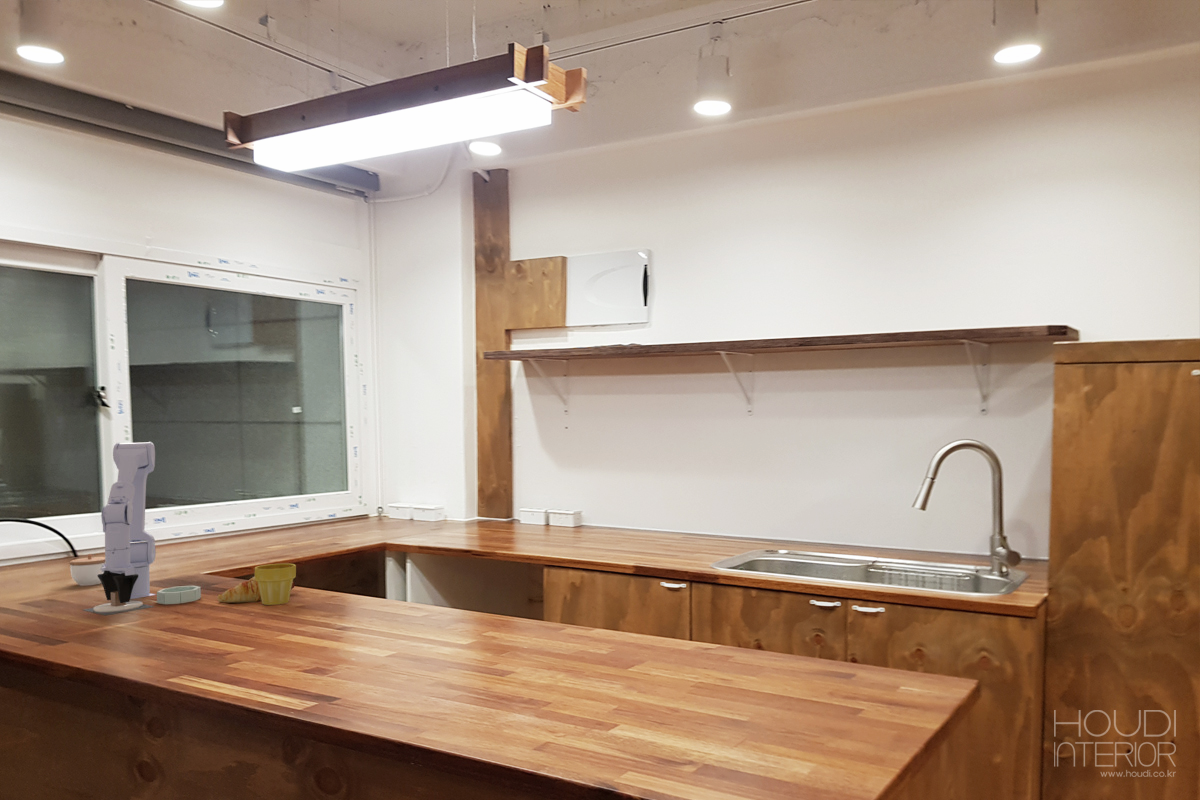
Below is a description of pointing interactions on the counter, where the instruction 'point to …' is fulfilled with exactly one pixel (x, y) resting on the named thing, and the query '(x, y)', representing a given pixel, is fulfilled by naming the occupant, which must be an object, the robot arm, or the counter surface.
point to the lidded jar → (87, 570)
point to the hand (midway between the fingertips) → (118, 601)
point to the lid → (117, 605)
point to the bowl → (178, 594)
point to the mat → (118, 612)
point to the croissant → (243, 592)
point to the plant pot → (275, 582)
